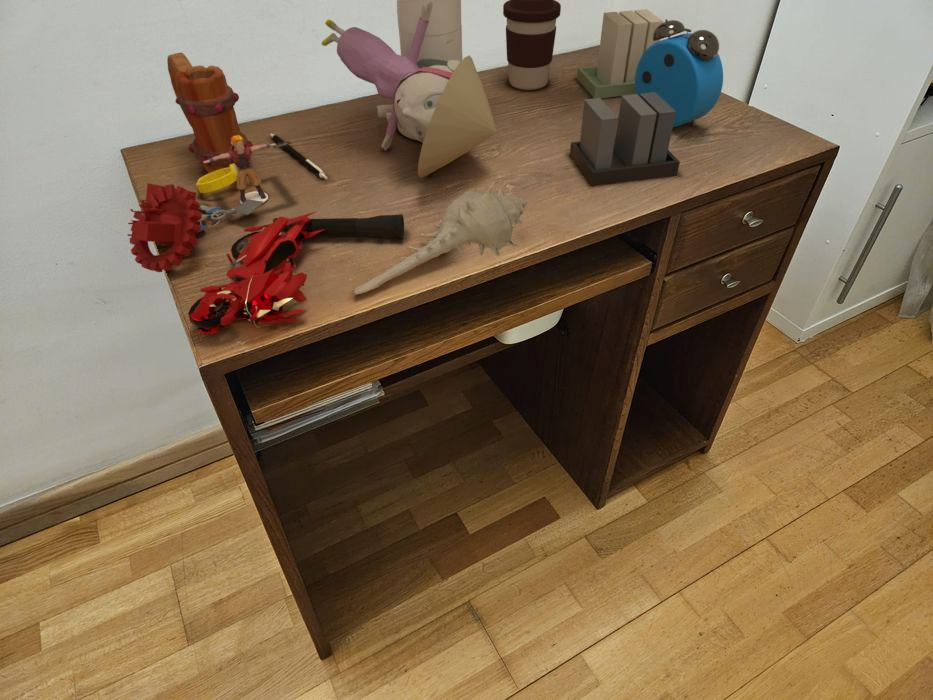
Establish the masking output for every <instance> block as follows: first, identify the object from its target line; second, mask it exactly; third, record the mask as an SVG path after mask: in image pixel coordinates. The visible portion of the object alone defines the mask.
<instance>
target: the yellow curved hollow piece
mask: <svg viewBox="0 0 933 700" xmlns="http://www.w3.org/2000/svg"><path fill="white" fill-rule="evenodd" d="M237 175H238V169H237V166H236V165H235V163H233V164H230V167H227V168H222V169H219V170H216V171H213V172H211V173H209V172H208V173H206V174H205V175H203V176H201V177H199V178H198V180H197V182H196V184H195V186H196V187H197V189H198V191H199V193H200V194H208V193H212V192H217V191H220V190H221V189H224V188H226V187H228V186H230V185H232V184H234V183H235V182H236V183H237Z"/></svg>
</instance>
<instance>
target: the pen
mask: <svg viewBox="0 0 933 700" xmlns="http://www.w3.org/2000/svg"><path fill="white" fill-rule="evenodd" d="M269 135H270V137H271V138H272V140H273V141H274V142H276V144H278V143H279V142H281V144H282V143H283V142H286V141H285V140H283V138H281V137H279V136H278V135H277V134H274V133H270V134H269ZM281 147H282V148H283V149H284V150H285V151H287V152H288V153H289V154H291V156H293V157H294V158H296V159H297V160H298V161H299V162H301V163H302V164H303V165H304V166H305V167H307V168H308V169H309V170H310V171H311V172H313V173H314V174H316V175H317V176H318V177H319V178H321V179H324V180H328V179H329V178H328V176H327V175H326V173H325V172H324V171H323V169H321V168H320V167H319V166H318V165H317V164H316V163H314V162H313V161H311V160H310V159H308V158H306V157H305V156H303V155H302V154H301V153H300V152H298V151H297V150H296V149H295V148H294V147H292V146H291V144H288V145H286V146H281Z"/></svg>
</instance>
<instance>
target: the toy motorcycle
mask: <svg viewBox="0 0 933 700" xmlns="http://www.w3.org/2000/svg"><path fill="white" fill-rule="evenodd" d="M317 212H318V210H317V211H313V212H310V213H309V212H308V213H306V214H302V215H297V216H295V217H292V218H288V217H284V216H279V217H277V218H278V219H277V220H275V221H274V222H273V221H272V222H271V223H267V224H264V225H259V226H256V225H255V226H254V225H253V226H250V227H246V228H243V232H245V233H248V234H245V235H243V236H242V237H240V238H238V239H237V240H236V241H235V242H234V243H233V244H232V246H231V248H230V253H231V255H230V253H226V258H227V259H228V261H229V263H230V268H229V269H228V270H227V271H226V277H227V278H228V279H230V280H231V282H230V283H226V284H225V283H224V284H221V285H209V286H204V287H202V288H201V289H200V293H205V294H204V295H203V296H202V297H199V299H197V300H196V301H195V302H194V303H193V304H192V305H191V306H190V309H189V311H188V312H187V313H188V319H189V322H190V324H192V325H194V326H195V327H197V330H198V332H199V333H200V334H204V335H210V334H214V333H218V332H219V331H220V326H221V325H222V326H227V325H229V324H231V323H232V322H233V321H236V320H238V321H240V320H247V321H249V322H250V323H251V324H252V325H254V326H255V327H256V328H257V329H260V328H261V327H267V326H268V327H270V326H273V325H276V324H280V323H281V324H282V323H300V321H299V320H298V319H297V318H296V317H291V316H295V315H298V314H301V313H303V312H305V311H306V309H303V308H300V309H299V308H295V309H294V310H291V311H288V312H285V313H283V308H284V307H285V306H286V305H287V304H288V302H290V301H291V300H292V301H297V302H300V303H304V302H306V301H308V299H307V298H306V296H305V294H304V293H303V291H302V290H301V288H302V287H304V286H305V283H306V281H307V278H308V277H307V274H306V273H304V272H302V271H301V272H299V273H296V274H294V270H295V269H296V267H297V265H296V264H295V262H294V261H295V260H296V258H298V256H299V254H300V253H301V251H302V248H300V246H301V245H302V243H303V242H304V240H307V239H309V238H312V236H313V235H315V234H317V233H319V232H321V231H323V230H324V229H323V230H318V231H314V232H309V233H307V232H308V230H309V229H310V227H311V225H312V224H311V221H310V219H311V218H310V216H312V215H314V214H315V213H317ZM297 221H298V222H297ZM294 222H297V223H296V224H295V225H294V226H293V227H292V228H290V229H289V230H288V231H287V232H284V231H283V229H284V228H285V226H286V225H289V224H292V223H294ZM231 256H232V257H231ZM232 258H233V259H234V260H233V259H232ZM293 269H294V270H293ZM257 325H261V326H257Z"/></svg>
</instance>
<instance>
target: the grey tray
mask: <svg viewBox="0 0 933 700" xmlns="http://www.w3.org/2000/svg"><path fill="white" fill-rule="evenodd" d="M614 144H615V142H614ZM579 146H580V140H579V141H571V142H570V148H569V156H570V158H571V159H572V161H573V162H574V163H575V166H577V168H578V169H579V171H580V172H581V173H582V175H583V176H584V178H585V179H586V180H587V182H588V183H589V185H590V186H599V185H600V186H601V185H607V184H608V185H609V184H614V183H624V182H631V181H640V180H648V179H654V178H663V177H672V176H677V175H678V172H679V168H680V163H681V161H680V160H679V159H678V158H677V157H676V156H675V155H674V154H673V153H672V152H671V151H670V150H669V149H668V152H667V157H666V162H658V163H650V164H642V165H633V166H626V165H625V164H624V163H623V162H622V160H621V159H620V158H619V157H618V156H617V154H616V153H615V152H614V149H613V156H612V163H611V168H608V169H600V170H595V169H594V168H593V166H592V165H591V164H590V162H589V161H588V160H587V158H586V157H585V156H584V154H583V153H582V151H581V150H580V149H579Z"/></svg>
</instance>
